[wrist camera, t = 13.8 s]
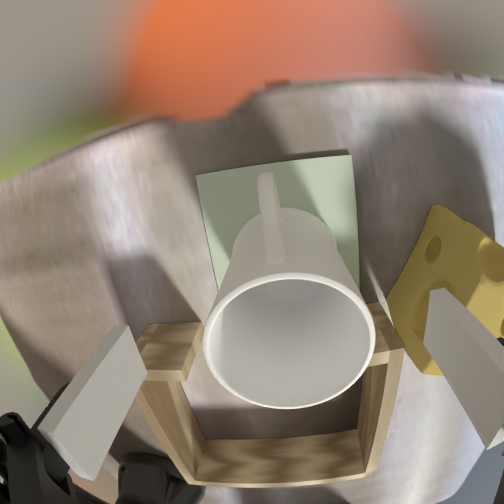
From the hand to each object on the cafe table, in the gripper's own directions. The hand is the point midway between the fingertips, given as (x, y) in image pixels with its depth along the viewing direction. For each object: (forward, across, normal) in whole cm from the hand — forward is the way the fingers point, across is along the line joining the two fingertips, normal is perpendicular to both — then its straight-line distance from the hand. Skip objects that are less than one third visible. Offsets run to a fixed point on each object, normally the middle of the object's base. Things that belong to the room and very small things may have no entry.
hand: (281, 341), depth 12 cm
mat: (+13, +1, 0) cm, 13 cm away
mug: (+13, +1, 0) cm, 13 cm away
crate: (+14, -2, -16) cm, 22 cm away
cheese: (+13, +16, -5) cm, 21 cm away
